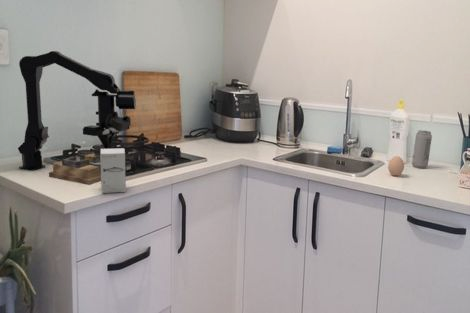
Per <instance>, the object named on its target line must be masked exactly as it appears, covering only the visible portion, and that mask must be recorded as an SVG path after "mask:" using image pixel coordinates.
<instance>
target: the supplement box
mask: <svg viewBox="0 0 470 313" xmlns="http://www.w3.org/2000/svg"><path fill="white" fill-rule="evenodd" d="M125 150H126V149H125V148H124V147H123V148H110V149H105V148H104V149H100V162H101V181H100V185H101V186H100V189H101V190H100V191H101V194H107V193H108V194H109V193H126V190H127V187H126V186H127V185H126V152H125Z"/></svg>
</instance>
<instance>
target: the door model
mask: <svg viewBox="0 0 470 313" xmlns="http://www.w3.org/2000/svg"><path fill="white" fill-rule="evenodd" d="M92 153H94V150H93V151H90V152H86V153H82V154H79V156H77V157H76V156H71V157H66V158H63V159H61V161H57V162H55V163H54V162H53V163H52V171H49V172H48V178H49V177H50V178H54V179H55V178H56V179H60V180H65V181H70V182H74V183H79V184H85V185H93V184H95V183H98V182H101V162H100V155H99V156H95V157H93V162H90V161H89V159H85V158H84V155H88V154H92Z"/></svg>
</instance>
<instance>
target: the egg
mask: <svg viewBox="0 0 470 313" xmlns="http://www.w3.org/2000/svg"><path fill="white" fill-rule="evenodd" d="M387 169H388V172H389V174H391V175H392V176H395V177H397V176H400V175H401V174H402V173H403V172H404V170H405V163H404V160H403V158H402V157H401V156H399V155H395V156H393V157H391V159H390V160H389V161H388V165H387Z"/></svg>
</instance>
